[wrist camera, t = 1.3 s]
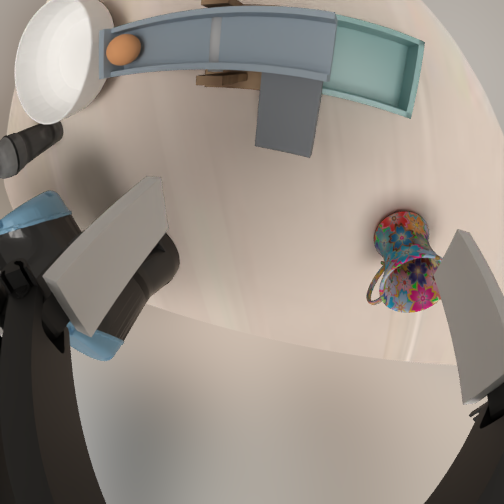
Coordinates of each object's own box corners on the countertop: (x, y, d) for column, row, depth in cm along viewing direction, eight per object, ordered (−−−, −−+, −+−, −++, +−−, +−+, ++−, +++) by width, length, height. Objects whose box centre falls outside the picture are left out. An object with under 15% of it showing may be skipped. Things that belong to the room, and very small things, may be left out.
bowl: (80, -13, 17) (40, -12, 11) (158, 18, 22) (117, 14, 16) (41, 82, 29) (6, 95, 23) (101, 129, 34) (64, 148, 28)
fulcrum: (207, 86, 28) (168, 96, 21) (212, 6, 21) (173, -9, 14) (272, 90, 27) (253, 99, 20) (280, 7, 20) (264, -16, 13)
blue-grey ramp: (128, 128, 27) (103, 139, 24) (127, 27, 19) (99, 28, 16) (317, 155, 23) (309, 170, 20) (338, 18, 14) (334, 5, 11)
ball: (121, 66, 21) (99, 69, 18) (121, 37, 19) (99, 38, 16) (147, 61, 21) (126, 64, 18) (148, 31, 18) (126, 30, 16)
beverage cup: (45, 141, 37) (-32, 192, 22) (47, 108, 33) (-39, 155, 18) (66, 152, 38) (-16, 210, 23) (69, 117, 34) (-24, 169, 19)
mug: (407, 192, 30) (431, 240, 22) (439, 235, 32) (462, 287, 25) (344, 243, 38) (345, 297, 30) (380, 277, 40) (387, 331, 32)
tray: (298, 86, 26) (295, 89, 23) (307, 17, 20) (305, 9, 17) (399, 111, 24) (410, 118, 21) (411, 44, 19) (424, 42, 15)
